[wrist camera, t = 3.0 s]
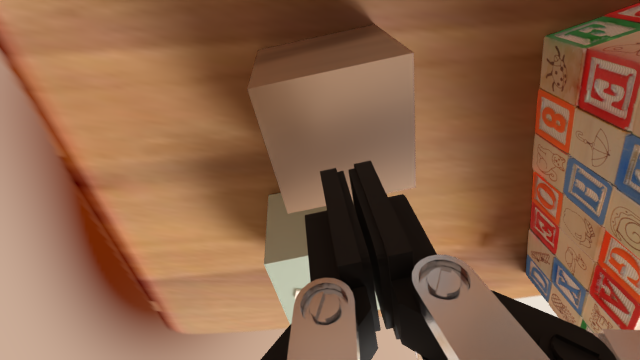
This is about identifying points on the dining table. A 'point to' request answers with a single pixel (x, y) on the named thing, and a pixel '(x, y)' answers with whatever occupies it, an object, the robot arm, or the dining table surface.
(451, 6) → the dining table surface
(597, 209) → the stack of blocks
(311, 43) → the blank block
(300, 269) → the block seven
